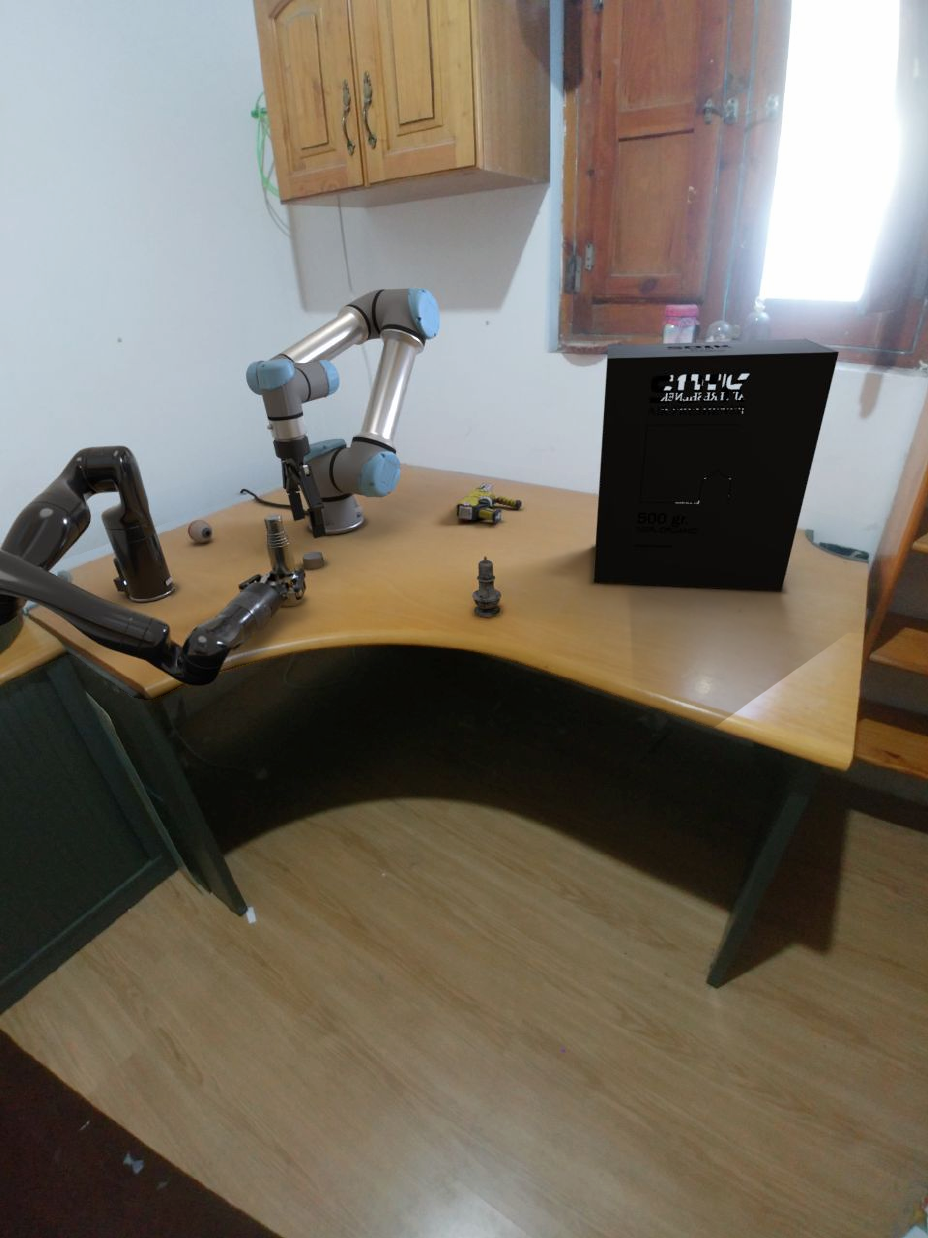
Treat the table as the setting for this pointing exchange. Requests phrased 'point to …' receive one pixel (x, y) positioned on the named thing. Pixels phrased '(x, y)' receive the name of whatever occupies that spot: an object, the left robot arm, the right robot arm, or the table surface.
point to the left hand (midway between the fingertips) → (291, 571)
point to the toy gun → (483, 505)
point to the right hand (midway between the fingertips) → (309, 527)
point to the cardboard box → (707, 461)
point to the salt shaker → (486, 591)
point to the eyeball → (200, 531)
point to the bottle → (280, 553)
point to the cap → (313, 560)
